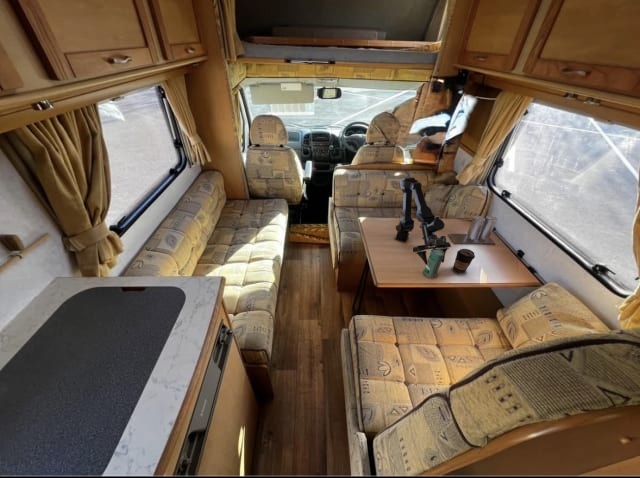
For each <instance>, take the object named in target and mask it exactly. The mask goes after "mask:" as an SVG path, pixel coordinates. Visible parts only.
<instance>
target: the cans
mask: <svg viewBox="0 0 640 478" xmlns="http://www.w3.org/2000/svg"><path fill="white" fill-rule="evenodd" d="M497 221H498V218H497V217H495V216H493V215H486V217H483V216H481V215H474V216H473V218H472V220H471V223H470V225H469V227H468V230H467V233H466V234H467V235H466V239H468V240H470V241H475V240H476V238H478V239H479V240H481V241H487V240H488V239H489V237H490V236H491V234H492V232H493V231H494V228H495V226H496V224H497ZM477 236H478V237H477Z"/></svg>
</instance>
